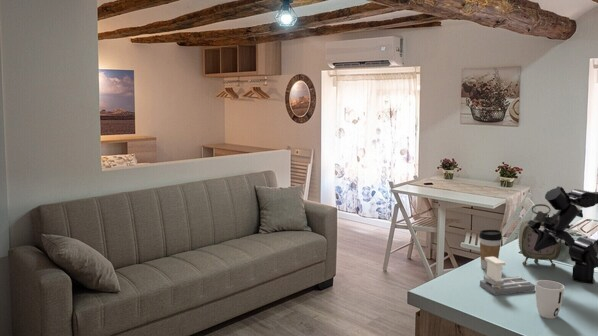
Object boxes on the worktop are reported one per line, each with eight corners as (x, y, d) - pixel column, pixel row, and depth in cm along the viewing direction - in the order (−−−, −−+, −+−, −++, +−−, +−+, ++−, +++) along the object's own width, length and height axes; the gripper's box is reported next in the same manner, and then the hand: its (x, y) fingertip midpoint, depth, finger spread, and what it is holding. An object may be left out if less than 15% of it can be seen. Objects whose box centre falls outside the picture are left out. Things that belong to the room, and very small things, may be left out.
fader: (492, 278, 189) (494, 256, 187) (504, 284, 182) (505, 262, 181) (483, 279, 188) (484, 257, 186) (494, 285, 181) (495, 263, 180)
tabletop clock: (520, 266, 209) (523, 205, 205) (516, 259, 217) (519, 200, 214) (559, 269, 205) (564, 207, 202) (553, 262, 214) (558, 202, 210)
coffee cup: (501, 272, 203) (504, 234, 201) (479, 270, 204) (480, 233, 202) (498, 264, 211) (500, 228, 209) (476, 263, 213) (478, 227, 210)
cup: (560, 322, 159) (562, 291, 157) (531, 316, 163) (533, 286, 162) (563, 313, 166) (565, 283, 164) (535, 307, 170) (537, 278, 168)
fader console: (518, 281, 193) (518, 274, 192) (534, 290, 184) (535, 283, 184) (479, 285, 189) (480, 278, 189) (494, 295, 180) (495, 287, 180)
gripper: (533, 198, 195) (505, 229, 194) (569, 209, 177) (539, 243, 176) (549, 217, 198) (522, 248, 197) (587, 230, 180) (558, 264, 179)
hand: (534, 250), depth 187 cm, fingers closed
